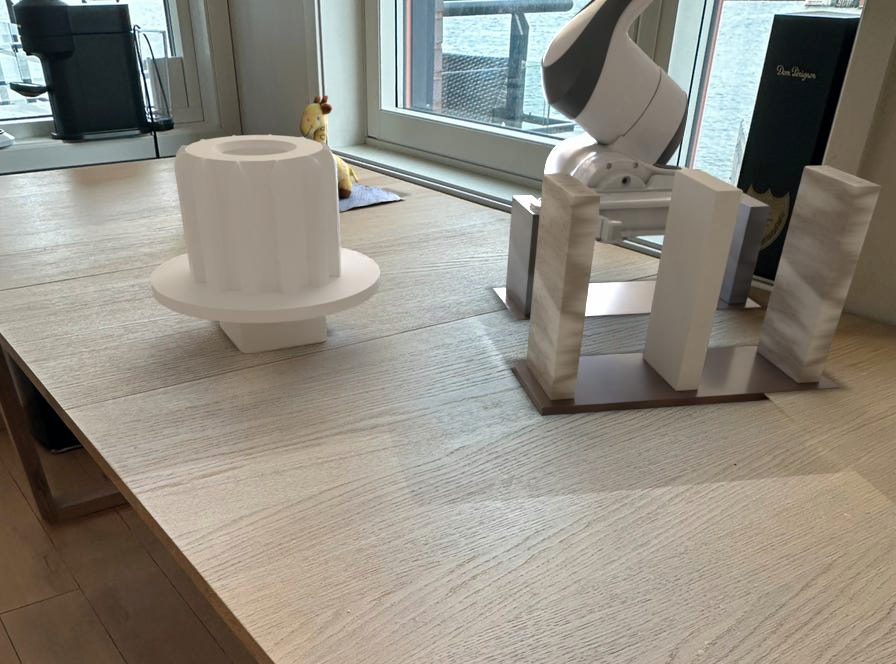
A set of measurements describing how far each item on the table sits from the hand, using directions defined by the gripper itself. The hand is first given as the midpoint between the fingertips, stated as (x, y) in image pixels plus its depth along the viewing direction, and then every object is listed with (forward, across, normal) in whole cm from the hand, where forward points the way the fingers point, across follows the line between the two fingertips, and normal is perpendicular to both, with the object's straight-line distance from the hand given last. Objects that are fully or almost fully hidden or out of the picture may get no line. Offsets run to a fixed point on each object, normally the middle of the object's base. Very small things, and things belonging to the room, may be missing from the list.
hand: (658, 231), depth 88 cm
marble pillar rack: (+9, 0, +12) cm, 15 cm away
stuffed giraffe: (-76, -26, +13) cm, 82 cm away
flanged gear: (-12, -40, +13) cm, 43 cm away
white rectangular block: (+8, 0, +12) cm, 14 cm away
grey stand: (-15, +4, +12) cm, 20 cm away
